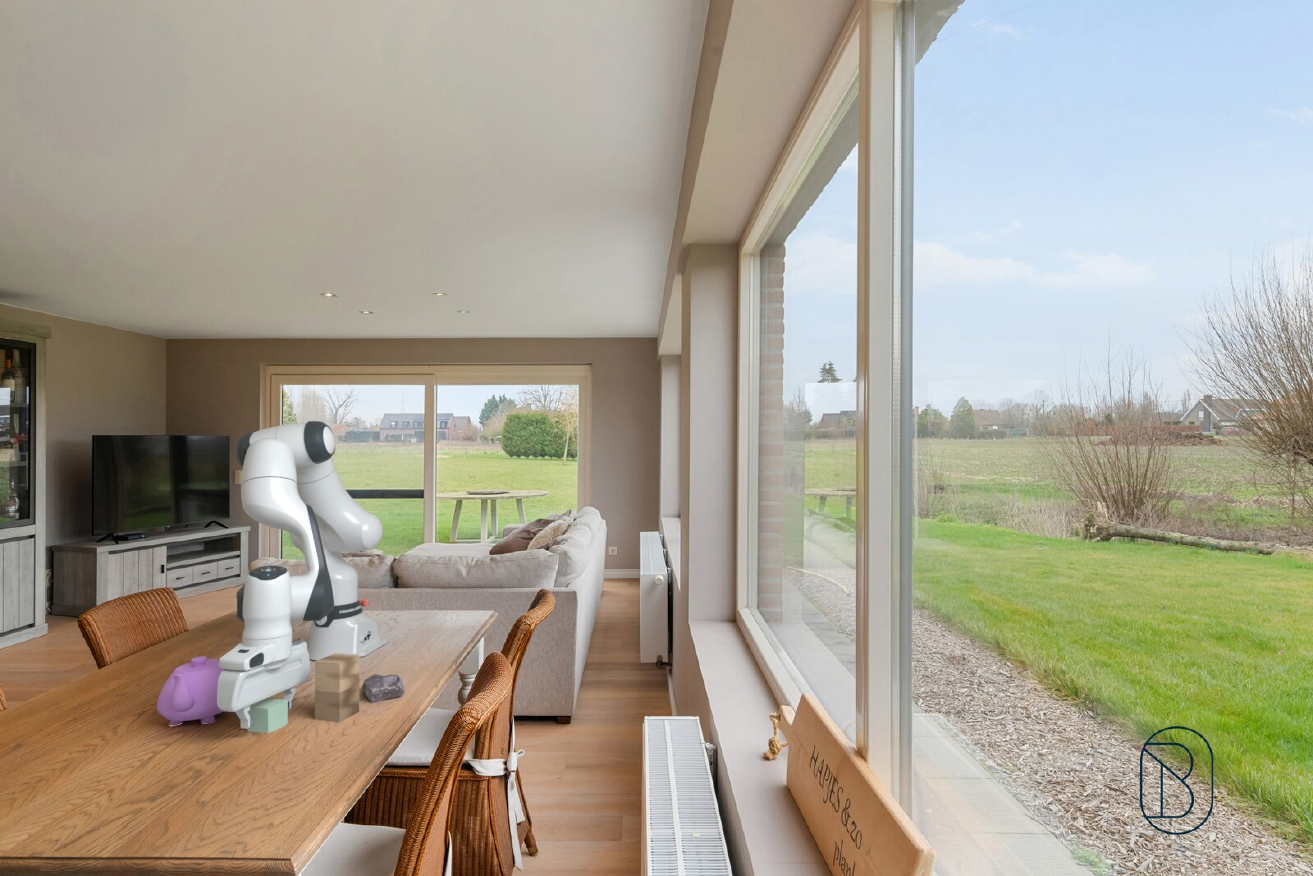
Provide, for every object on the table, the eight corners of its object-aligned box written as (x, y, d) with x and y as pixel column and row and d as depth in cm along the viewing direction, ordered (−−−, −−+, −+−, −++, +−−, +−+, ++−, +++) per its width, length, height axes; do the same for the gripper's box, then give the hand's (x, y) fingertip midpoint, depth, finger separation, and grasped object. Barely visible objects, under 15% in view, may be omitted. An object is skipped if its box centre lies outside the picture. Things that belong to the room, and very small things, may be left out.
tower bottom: (335, 709, 150) (335, 681, 150) (359, 711, 148) (359, 683, 148) (314, 719, 144) (315, 690, 144) (339, 722, 142) (339, 693, 142)
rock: (393, 684, 166) (393, 665, 166) (408, 698, 157) (408, 678, 157) (357, 692, 161) (357, 672, 161) (370, 706, 152) (370, 685, 152)
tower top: (335, 681, 150) (335, 653, 150) (359, 683, 148) (359, 655, 148) (315, 690, 144) (315, 661, 144) (339, 693, 142) (339, 663, 143)
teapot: (213, 736, 136) (213, 671, 136) (131, 742, 133) (132, 676, 133) (252, 700, 155) (252, 644, 156) (181, 704, 153) (182, 647, 153)
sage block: (267, 722, 143) (267, 698, 143) (287, 724, 141) (287, 700, 141) (247, 732, 138) (247, 706, 138) (268, 734, 137) (268, 708, 137)
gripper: (294, 635, 151) (293, 699, 150) (210, 662, 131) (210, 736, 131) (318, 636, 149) (317, 702, 149) (238, 664, 129) (237, 739, 129)
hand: (266, 718), depth 140 cm, fingers open, 8 cm apart
